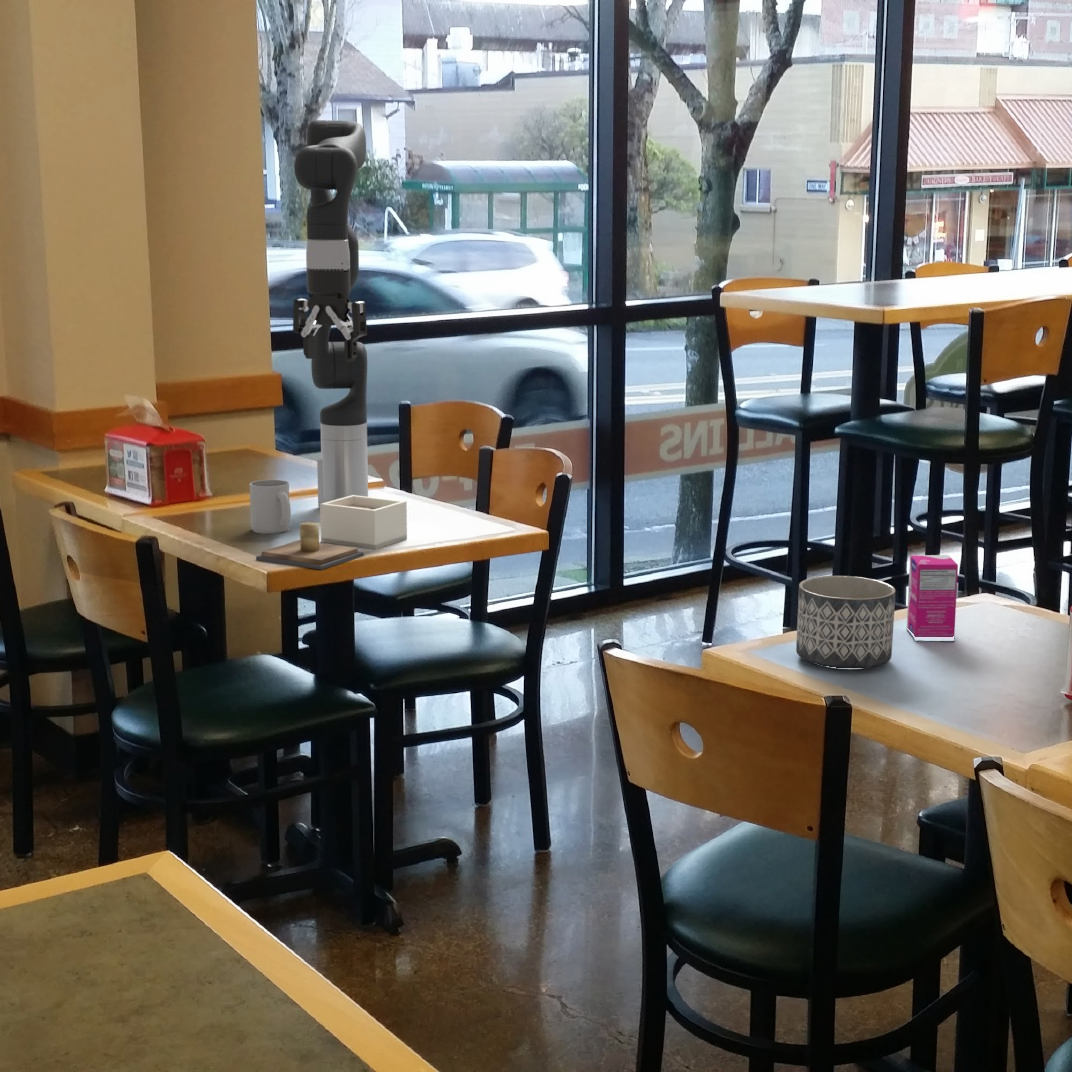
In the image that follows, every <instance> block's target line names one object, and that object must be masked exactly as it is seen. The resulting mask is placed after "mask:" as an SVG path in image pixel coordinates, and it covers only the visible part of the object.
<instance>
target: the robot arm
mask: <svg viewBox="0 0 1072 1072" xmlns="http://www.w3.org/2000/svg"><path fill="white" fill-rule="evenodd" d="M366 157H367V138H366V132H365V129H364V127H363V126H362V124H360V123H359V122H357V121H352V120H334V119H333V120H330V119H329V120H327V119H326V120H325V119H324V120H320V119H318V120H317V119H316V120H313V121H311V122H310V123H309V124H308V127H307V133H306V146H304V147H302V148H301V149H300V150H299V151H298V153H297V154H296V157H295V160H294V166H293V172H294V175H295V179H296V181H297V183H298V184H299V186H301V187H302V188H304V189H306V190H309V193H310V195H309V197H310V206H309V207H308V208H307V210H306V230H307V231H306V235H307V236H306V238H307V240H306V248H305V249H306V250H305V251H306V252H305V258H306V261H305V263H306V264H305V266H306V291H307V293H308V299H306V298H295V299H293V307H292V308H293V309H292V310H293V313H292V316H293V317H292V318H293V319H292V331H293V333H295V334H299V335H300V336H301V337H302V344H303V345H302V346H303V347H302V348H303V355H304V357H305V359H306V360H311V361H310V362H311V363H310V365H311V378H312V382H313V384H314V386H315V387H316V388H317V389H321V390H333V389H334V390H338V389H341V390H343V389H345V390H346V389H349V392H348V394H347V395H346V396H345V397H343V398H342V399H340V400H339V401H337V402H334V403H332V404H329V405H326V406H324V407H323V408H321V410H320V413H319V414H320V415H319V419H320V422H319V423H320V455H321V458H320V459H318V460H317V461H316V463H317V464H316V468H317V471H316V472H317V475H316V476H317V505H318V506H317V507H318V508H320V504H322V503H325V502H329V501H333V500H336V499H340V498H344V497H347V496H351V495H357V496H365V497H369V471H368V470H369V469H368V468H369V467H368V466H369V465H368V425H367V424H368V423H367V422H368V416H367V414H368V413H367V412H368V411H367V390H368V389H367V383H368V382H367V381H368V353H367V350H366V349H367V348H366V347H365V344H363V343H362V342H360V341H358V339H359V338H361V337H366V336H367V335H368V327H367V325H368V324H367V312H366V310H367V309H366V302H365V301H363V300H361V301H360V300H359V301H353V302H352V301H351V300H350V293H351V292H352V289H353V287H354V286H355V284H356V283H357V280H358V277H359V274H360V273H359V272H360V266H359V265H360V259H359V258H360V257H359V256H360V254H359V253H360V252H359V248H360V247H359V239H358V237H357V235H356V233H355V231H354V229H353V227H352V226H351V224H350V222H349V221H348V219H349V217H348V216H349V207H350V200H351V197H352V192H353V188H354V185H355V181H356V178H357V172H358V170H359V169H361V168H362V167H363V165H364V164H365V160H366ZM331 190H332V191H333V190H335V191H336V193H335V196H333V194H332V191H331ZM308 310H309V311H310V314H309V316H308ZM349 313H351V316H350V315H349ZM332 326H335V327H336V328H337V329H338V330H339V331H340V332H341V334H342V335H343V337H344V339H346V340H344V341H329V339H330V338H329V337H330V332H331V328H332Z"/></svg>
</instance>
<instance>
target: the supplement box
mask: <svg viewBox="0 0 1072 1072" xmlns="http://www.w3.org/2000/svg"><path fill="white" fill-rule="evenodd" d="M908 571H909V572H908V573H909V574H908V576H909V577H908V591H907V592H908V595H907V613H906V614H907V615H906V616H907V617H906V618H907V619H906V629H907V628H908V629H909V630H910V631H911V632H912V633H913V634H914V636H915V637H953V636H954V637H955V632H956V628H955V627H956V615H957V614H956V611H957V610H956V609H957V591H958V590H957V589H958V575H959V574H958V571H959V564H958V563H957V562H956V561H955V560H954V559H953V558H952V557H951V556H950V555H949V554H934V555H933V554H930V555H929V554H928V555H927V554H925V555H924V554H916V555H915V554H914V555H913V554H911V555H910V556H909V570H908Z"/></svg>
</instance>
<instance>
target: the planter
mask: <svg viewBox="0 0 1072 1072" xmlns="http://www.w3.org/2000/svg"><path fill="white" fill-rule="evenodd" d="M895 602H896V588H895V586H894V585H891V584H890V583H887V582H884V581H881V580H877V579H875V578H874V579H873V578H867V577H862V576H852V575H851V576H850V575H823V576H816V577H810V578H807V579H804V580H802V581H800V582H799V584H798V601H797V603H798V604H797V623H796V647H795V648H796V650H795V651H796V654H797V655H798V656H799V658H801V659H802V660H805V661H807V662H810V663H812V664H815V665H818V664H819V665H818V666H820V665H823V666H829V667H836V668H866V669H869V668H875V667H880V666H883V665H885V664H887V663H888V662H890V661H891V659H892V656H893V654H892V653H893V640H894V639H893V636H894V624H895V623H894V622H895V607H896V604H895ZM823 666H822V667H823Z"/></svg>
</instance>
